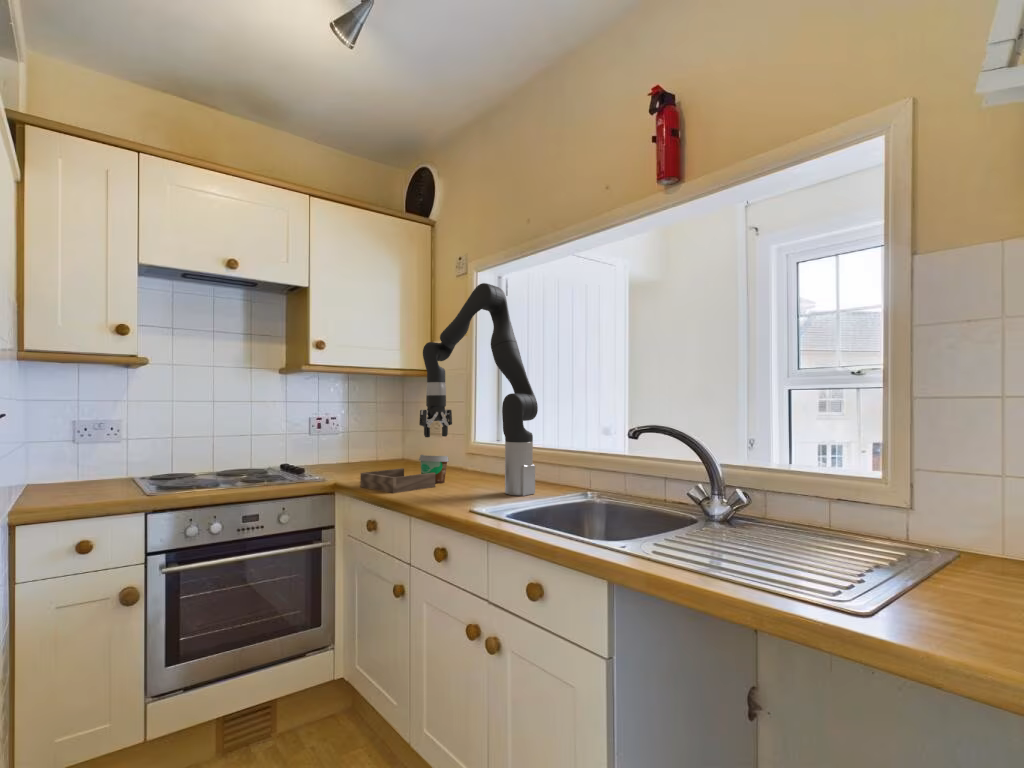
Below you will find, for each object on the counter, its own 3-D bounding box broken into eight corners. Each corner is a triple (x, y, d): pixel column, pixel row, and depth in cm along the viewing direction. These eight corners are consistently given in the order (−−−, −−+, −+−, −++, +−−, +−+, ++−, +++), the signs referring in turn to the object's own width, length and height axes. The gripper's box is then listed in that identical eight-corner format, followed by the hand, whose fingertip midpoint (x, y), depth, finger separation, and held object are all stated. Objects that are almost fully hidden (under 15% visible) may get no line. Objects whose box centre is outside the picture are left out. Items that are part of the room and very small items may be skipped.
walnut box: (435, 486, 193) (435, 472, 193) (393, 493, 180) (393, 478, 180) (402, 481, 206) (402, 468, 206) (360, 486, 192) (360, 472, 193)
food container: (411, 481, 203) (412, 454, 204) (420, 480, 209) (422, 454, 210) (438, 483, 198) (439, 456, 199) (447, 482, 203) (448, 456, 204)
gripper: (428, 394, 199) (427, 438, 199) (456, 394, 210) (456, 436, 209) (415, 394, 204) (415, 437, 204) (443, 394, 215) (443, 435, 214)
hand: (436, 436), depth 206 cm, fingers open, 8 cm apart
